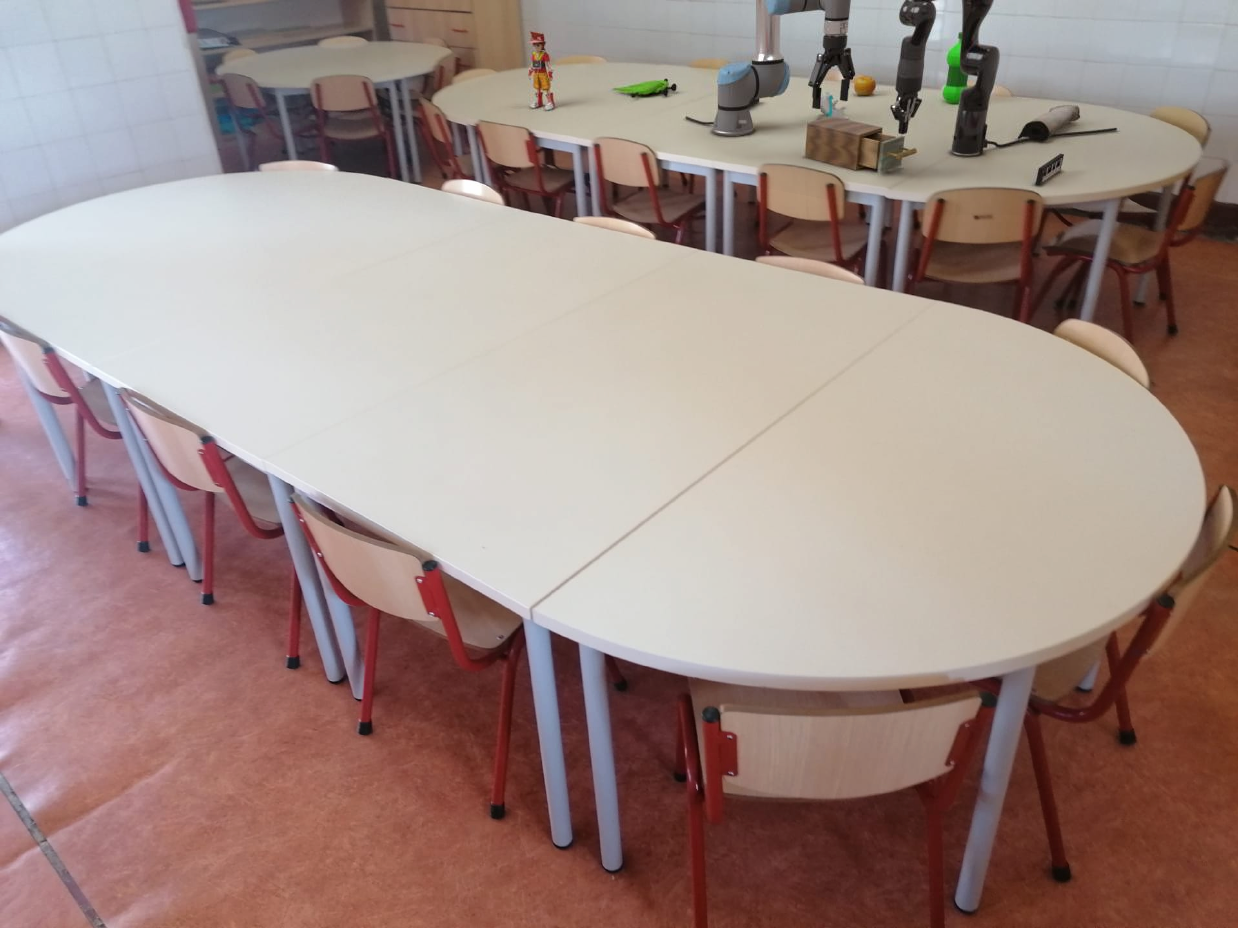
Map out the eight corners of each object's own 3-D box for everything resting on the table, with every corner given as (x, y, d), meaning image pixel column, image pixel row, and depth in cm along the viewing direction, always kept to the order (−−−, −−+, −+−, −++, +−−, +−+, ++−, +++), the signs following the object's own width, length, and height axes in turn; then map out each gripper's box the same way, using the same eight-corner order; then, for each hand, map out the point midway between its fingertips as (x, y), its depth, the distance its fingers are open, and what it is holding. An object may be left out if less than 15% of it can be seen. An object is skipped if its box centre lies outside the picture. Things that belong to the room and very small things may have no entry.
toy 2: (686, 85, 398) (631, 84, 414) (685, 72, 395) (629, 72, 411) (651, 104, 381) (596, 103, 397) (650, 92, 378) (594, 91, 394)
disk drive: (744, 111, 360) (759, 102, 370) (744, 104, 358) (760, 95, 368) (721, 109, 365) (737, 100, 375) (721, 102, 363) (737, 93, 373)
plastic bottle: (973, 101, 354) (984, 32, 339) (955, 106, 349) (966, 36, 335) (952, 97, 361) (962, 29, 346) (934, 102, 356) (944, 33, 342)
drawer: (916, 169, 285) (920, 139, 280) (895, 176, 280) (899, 146, 275) (851, 153, 303) (853, 125, 298) (830, 160, 298) (832, 131, 293)
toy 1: (525, 109, 381) (517, 32, 364) (534, 104, 388) (527, 28, 371) (550, 110, 377) (543, 32, 360) (559, 105, 384) (553, 28, 367)
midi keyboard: (1039, 185, 269) (1043, 168, 266) (1035, 184, 270) (1038, 168, 267) (1060, 170, 279) (1064, 154, 277) (1056, 169, 280) (1060, 153, 277)
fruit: (849, 87, 368) (861, 69, 365) (851, 91, 376) (863, 73, 373) (866, 98, 367) (878, 80, 364) (868, 102, 375) (880, 84, 372)
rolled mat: (1047, 110, 326) (1071, 92, 318) (1060, 131, 326) (1086, 114, 318) (1013, 133, 309) (1038, 115, 301) (1028, 155, 309) (1053, 137, 301)
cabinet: (878, 162, 296) (882, 127, 290) (855, 170, 291) (859, 135, 284) (827, 150, 311) (830, 116, 305) (804, 157, 305) (807, 123, 299)
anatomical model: (812, 91, 345) (837, 84, 345) (815, 118, 351) (840, 111, 351) (822, 101, 333) (849, 93, 332) (825, 128, 339) (851, 121, 338)
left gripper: (818, 42, 275) (813, 113, 287) (870, 29, 287) (863, 99, 299) (799, 39, 280) (795, 110, 292) (852, 27, 292) (846, 96, 304)
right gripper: (906, 80, 263) (899, 140, 273) (934, 72, 269) (925, 131, 279) (885, 76, 268) (879, 136, 278) (913, 69, 274) (905, 127, 284)
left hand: (830, 104), depth 296 cm, fingers open, 13 cm apart
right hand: (902, 133), depth 279 cm, fingers closed
